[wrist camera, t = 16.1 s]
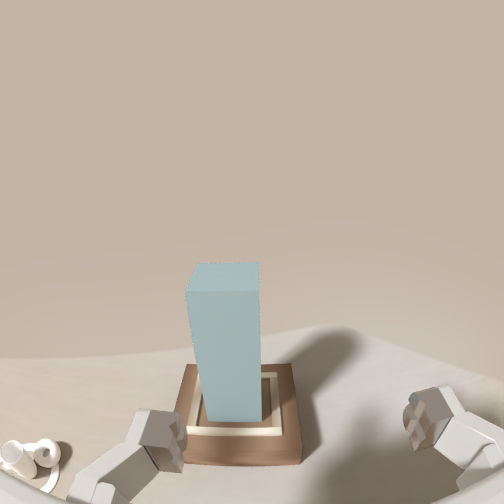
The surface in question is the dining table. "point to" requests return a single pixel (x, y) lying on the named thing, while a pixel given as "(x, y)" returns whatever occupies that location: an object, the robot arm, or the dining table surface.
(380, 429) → the dining table surface
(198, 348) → the column
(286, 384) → the plinth
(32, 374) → the dining table surface
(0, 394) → the dining table surface
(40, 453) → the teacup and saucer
